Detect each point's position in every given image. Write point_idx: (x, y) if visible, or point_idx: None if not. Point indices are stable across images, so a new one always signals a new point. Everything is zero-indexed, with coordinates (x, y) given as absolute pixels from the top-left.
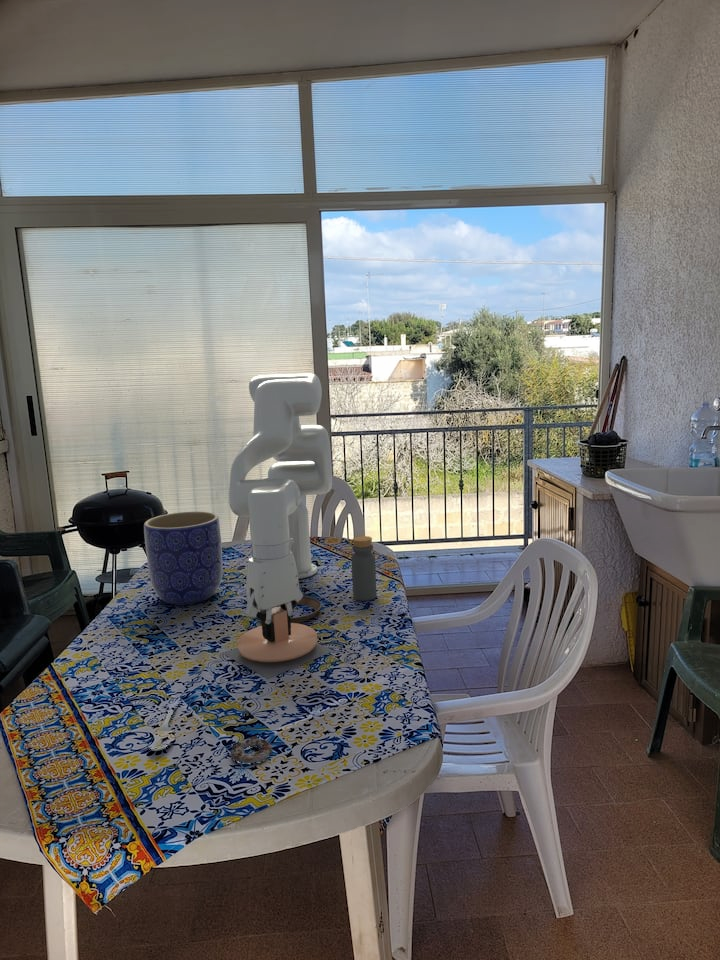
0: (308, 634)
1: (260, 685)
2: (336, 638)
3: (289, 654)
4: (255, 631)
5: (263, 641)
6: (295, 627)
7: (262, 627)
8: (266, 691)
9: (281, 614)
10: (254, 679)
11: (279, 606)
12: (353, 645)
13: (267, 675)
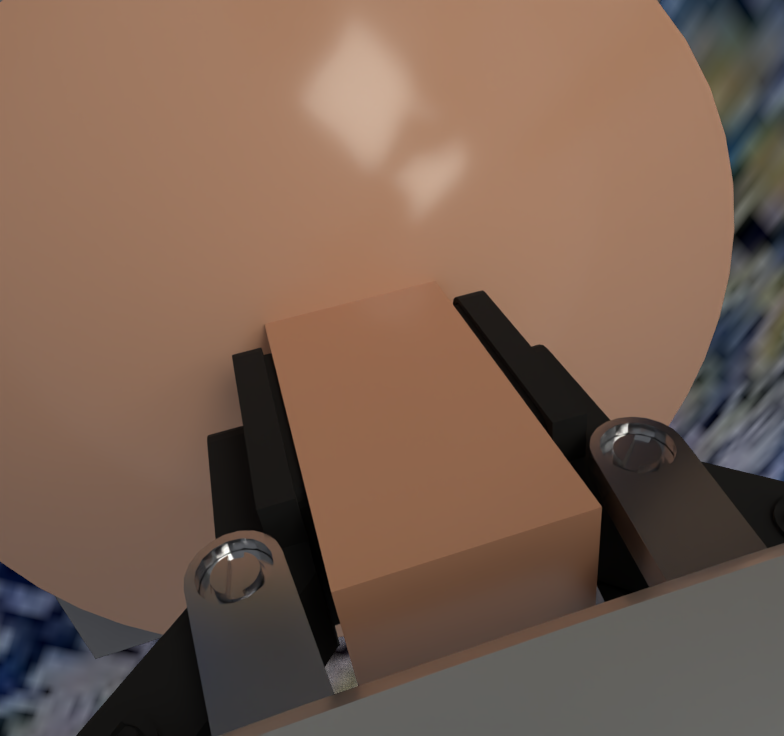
0: (615, 416)
1: (35, 663)
2: (780, 287)
3: None
4: (221, 18)
5: (213, 359)
6: (643, 219)
7: (216, 510)
8: (55, 720)
9: None
10: (10, 593)
11: (625, 517)
12: (753, 428)
13: (106, 628)
